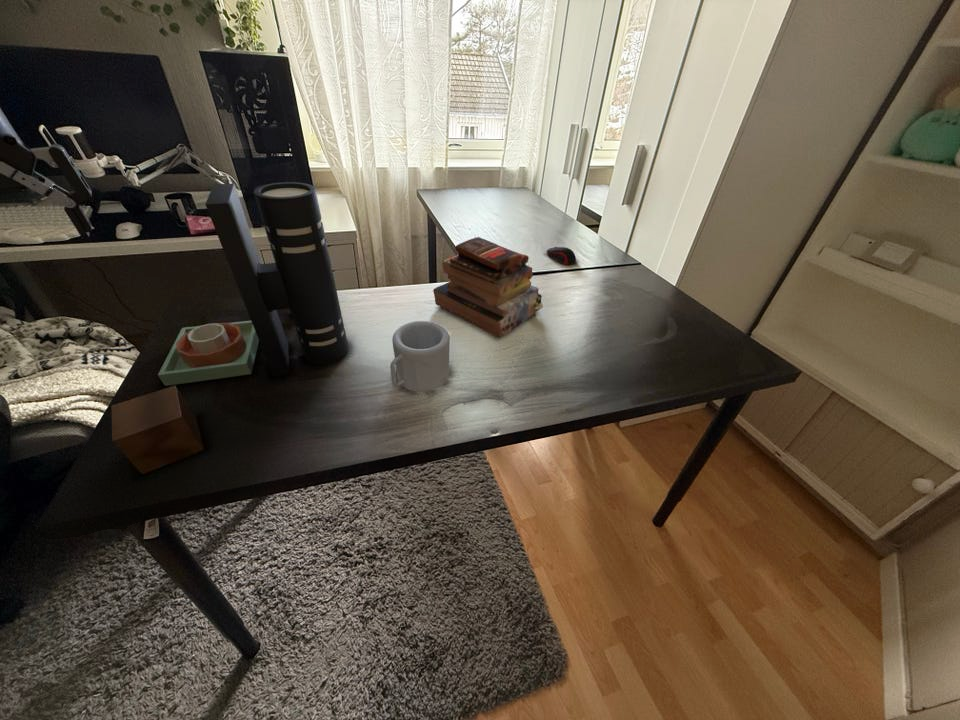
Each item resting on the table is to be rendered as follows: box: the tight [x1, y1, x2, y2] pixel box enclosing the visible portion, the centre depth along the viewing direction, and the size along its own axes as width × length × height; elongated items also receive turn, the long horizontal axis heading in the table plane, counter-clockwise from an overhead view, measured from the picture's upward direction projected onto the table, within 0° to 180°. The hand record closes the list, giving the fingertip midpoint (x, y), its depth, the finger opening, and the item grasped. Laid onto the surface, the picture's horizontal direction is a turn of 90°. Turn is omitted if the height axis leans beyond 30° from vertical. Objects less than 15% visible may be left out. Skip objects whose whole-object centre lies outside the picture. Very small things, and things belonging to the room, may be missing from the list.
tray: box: [157, 320, 260, 387], centre depth 77 cm, size 16×15×3 cm
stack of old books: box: [432, 236, 544, 339], centre depth 92 cm, size 23×18×17 cm
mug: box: [390, 320, 451, 392], centre depth 73 cm, size 14×11×10 cm
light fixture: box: [204, 181, 350, 378], centre depth 69 cm, size 10×15×33 cm
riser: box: [111, 385, 205, 475], centre depth 58 cm, size 8×8×8 cm
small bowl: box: [187, 323, 231, 354], centre depth 75 cm, size 6×6×4 cm
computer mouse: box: [546, 246, 577, 266], centre depth 125 cm, size 6×11×4 cm, turn 32°
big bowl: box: [176, 322, 246, 368], centre depth 76 cm, size 11×11×4 cm
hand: (41, 241), depth 47 cm, fingers open, 8 cm apart
